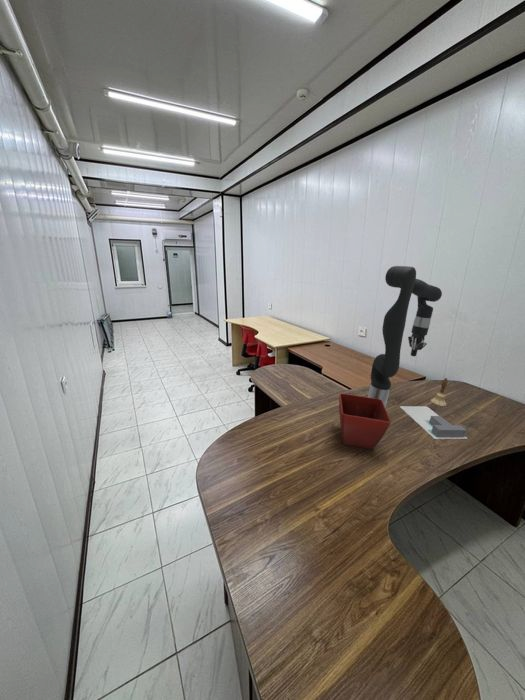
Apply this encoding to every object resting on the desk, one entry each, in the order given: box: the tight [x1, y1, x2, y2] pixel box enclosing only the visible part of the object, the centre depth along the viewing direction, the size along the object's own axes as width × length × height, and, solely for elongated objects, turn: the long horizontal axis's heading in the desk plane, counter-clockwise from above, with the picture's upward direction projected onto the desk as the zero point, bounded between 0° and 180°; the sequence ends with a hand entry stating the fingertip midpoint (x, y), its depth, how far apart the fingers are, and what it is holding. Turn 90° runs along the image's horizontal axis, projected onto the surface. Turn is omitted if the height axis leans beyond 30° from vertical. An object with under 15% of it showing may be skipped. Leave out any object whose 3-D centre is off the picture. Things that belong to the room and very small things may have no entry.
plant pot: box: [338, 392, 392, 450], centre depth 122 cm, size 19×19×17 cm
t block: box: [429, 415, 467, 437], centre depth 135 cm, size 14×12×4 cm
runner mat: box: [399, 405, 468, 440], centre depth 143 cm, size 17×29×1 cm, turn 6°
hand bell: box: [430, 377, 448, 407], centre depth 161 cm, size 8×8×16 cm
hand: (413, 355), depth 151 cm, fingers closed
